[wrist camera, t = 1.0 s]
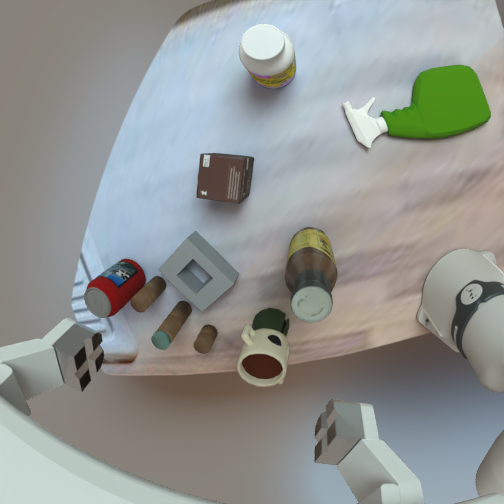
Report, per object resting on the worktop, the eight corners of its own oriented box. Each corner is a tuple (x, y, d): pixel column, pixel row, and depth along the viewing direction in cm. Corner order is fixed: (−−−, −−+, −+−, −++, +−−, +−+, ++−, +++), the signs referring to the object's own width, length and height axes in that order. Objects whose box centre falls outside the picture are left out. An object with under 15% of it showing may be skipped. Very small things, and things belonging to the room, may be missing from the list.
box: (249, 196, 45) (239, 205, 39) (211, 190, 46) (195, 198, 39) (254, 156, 43) (245, 158, 36) (215, 152, 44) (199, 153, 37)
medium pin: (169, 284, 53) (149, 305, 46) (160, 293, 54) (140, 315, 47) (157, 273, 53) (136, 292, 45) (148, 282, 54) (127, 302, 46)
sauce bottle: (332, 259, 47) (347, 332, 28) (294, 266, 48) (286, 340, 30) (326, 220, 45) (340, 273, 26) (286, 227, 46) (273, 284, 28)
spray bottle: (487, 124, 34) (364, 163, 41) (464, 63, 32) (336, 96, 39) (496, 124, 32) (367, 164, 39) (472, 59, 29) (338, 93, 36)
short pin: (220, 332, 55) (213, 348, 50) (210, 340, 56) (202, 356, 51) (208, 322, 54) (200, 337, 50) (199, 330, 56) (190, 345, 51)
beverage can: (139, 253, 52) (101, 281, 41) (152, 287, 54) (119, 319, 43) (112, 261, 54) (75, 287, 43) (125, 292, 56) (92, 323, 45)
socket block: (239, 273, 50) (233, 284, 46) (208, 300, 53) (201, 312, 49) (195, 230, 49) (186, 238, 45) (168, 261, 52) (158, 270, 48)
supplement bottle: (251, 89, 40) (231, 69, 28) (251, 50, 38) (231, 18, 26) (297, 89, 39) (294, 67, 27) (296, 49, 36) (292, 15, 25)
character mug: (304, 335, 52) (301, 386, 40) (270, 350, 54) (260, 400, 42) (272, 288, 50) (261, 333, 38) (238, 306, 52) (218, 351, 40)
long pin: (194, 309, 54) (172, 344, 44) (185, 317, 55) (162, 352, 45) (183, 298, 54) (157, 331, 43) (173, 306, 55) (148, 339, 44)
